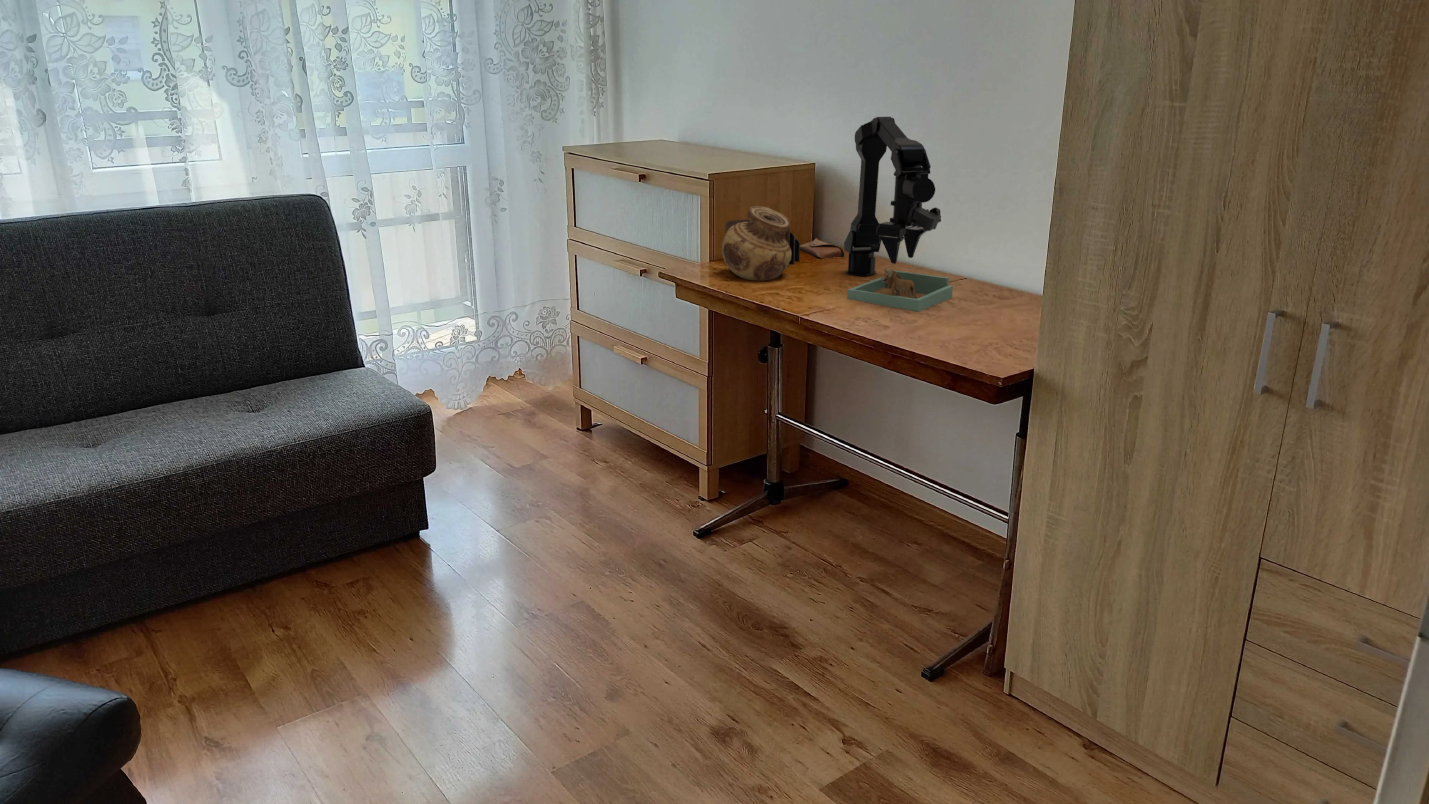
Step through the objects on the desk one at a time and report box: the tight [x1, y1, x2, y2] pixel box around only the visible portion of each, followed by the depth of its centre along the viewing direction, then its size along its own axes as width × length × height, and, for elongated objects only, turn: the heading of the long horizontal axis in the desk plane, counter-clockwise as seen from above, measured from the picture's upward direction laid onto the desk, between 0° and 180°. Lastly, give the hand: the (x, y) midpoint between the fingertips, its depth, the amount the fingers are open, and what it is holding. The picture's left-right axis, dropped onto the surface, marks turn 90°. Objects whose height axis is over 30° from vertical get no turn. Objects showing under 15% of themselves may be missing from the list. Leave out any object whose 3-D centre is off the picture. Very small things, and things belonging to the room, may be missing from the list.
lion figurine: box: [880, 268, 918, 299], centre depth 253 cm, size 12×4×7 cm, turn 43°
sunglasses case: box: [800, 237, 845, 260], centre depth 307 cm, size 18×7×7 cm
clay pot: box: [721, 205, 792, 281], centre depth 272 cm, size 19×19×20 cm
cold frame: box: [846, 269, 954, 313], centre depth 253 cm, size 19×19×5 cm
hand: (902, 260), depth 251 cm, fingers open, 9 cm apart
